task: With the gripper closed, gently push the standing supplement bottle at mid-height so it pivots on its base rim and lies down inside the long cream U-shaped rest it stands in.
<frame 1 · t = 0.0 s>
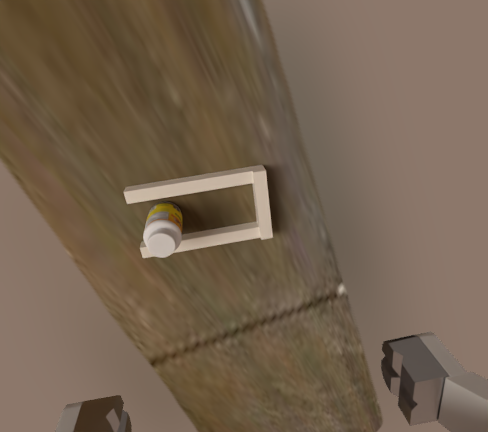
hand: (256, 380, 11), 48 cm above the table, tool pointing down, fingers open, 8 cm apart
u rest: (195, 210, 61), on the table
supplement bottle: (165, 214, 60), on the table
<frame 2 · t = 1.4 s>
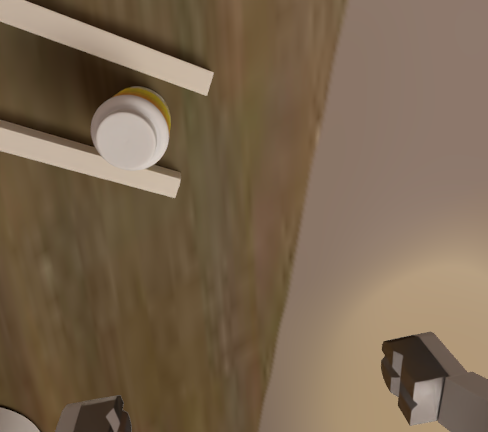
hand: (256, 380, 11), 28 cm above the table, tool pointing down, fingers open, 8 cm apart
u rest: (83, 98, 32), on the table
supplement bottle: (140, 117, 34), on the table
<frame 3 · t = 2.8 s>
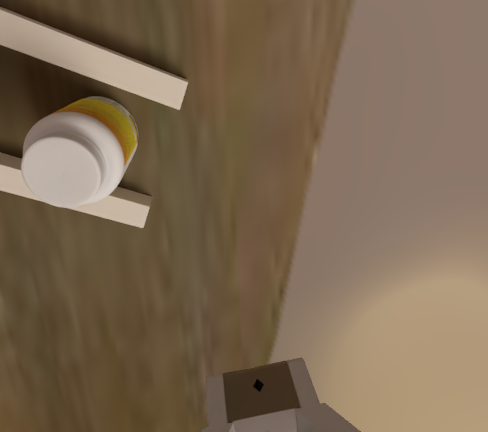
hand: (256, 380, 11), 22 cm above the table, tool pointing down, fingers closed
u rest: (32, 109, 27), on the table
supplement bottle: (103, 131, 28), on the table
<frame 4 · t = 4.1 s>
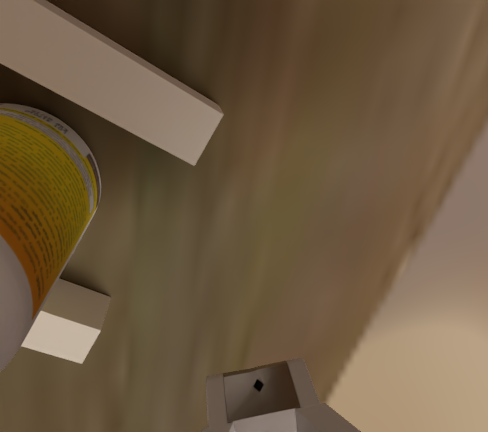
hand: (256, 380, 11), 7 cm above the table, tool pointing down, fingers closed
supplement bottle: (31, 173, 14), on the table
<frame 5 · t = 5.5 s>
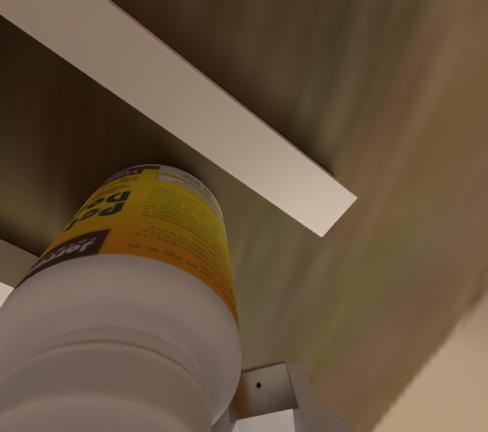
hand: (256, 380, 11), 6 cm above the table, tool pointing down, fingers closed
u rest: (40, 156, 13), on the table
supplement bottle: (157, 223, 15), on the table, touching gripper
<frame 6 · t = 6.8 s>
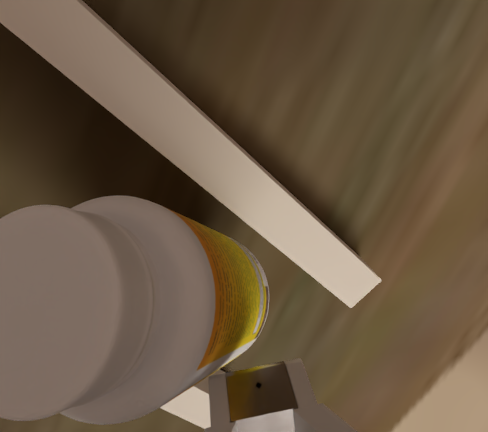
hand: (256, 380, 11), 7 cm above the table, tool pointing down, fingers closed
u rest: (132, 229, 16), on the table
supplement bottle: (212, 297, 17), point 2 cm above the table, touching gripper
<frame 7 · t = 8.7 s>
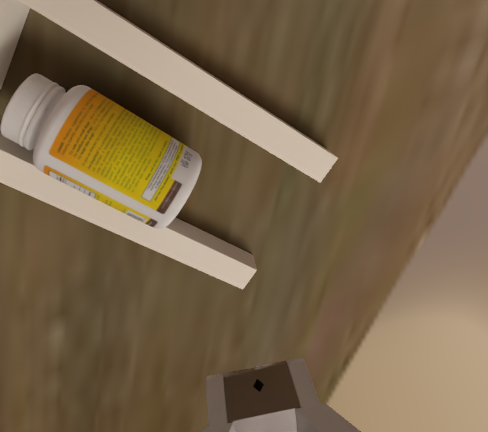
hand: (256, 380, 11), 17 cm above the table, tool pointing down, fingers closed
u rest: (162, 151, 25), on the table
supplement bottle: (185, 195, 23), point 3 cm above the table
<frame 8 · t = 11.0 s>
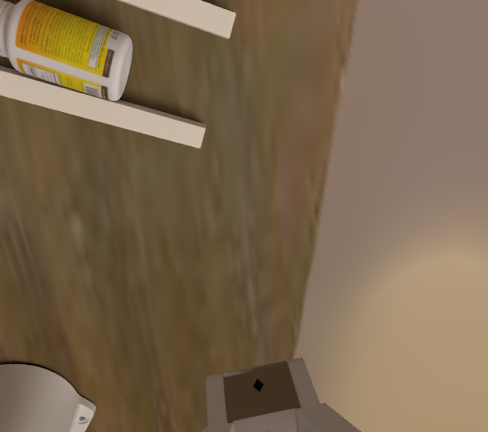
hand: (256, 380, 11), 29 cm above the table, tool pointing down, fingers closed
u rest: (107, 49, 32), on the table
supplement bottle: (128, 72, 31), point 3 cm above the table
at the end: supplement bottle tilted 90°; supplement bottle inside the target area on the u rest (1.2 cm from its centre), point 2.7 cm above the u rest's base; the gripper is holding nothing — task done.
